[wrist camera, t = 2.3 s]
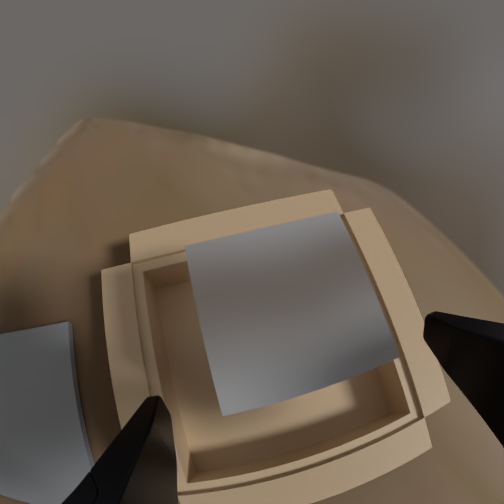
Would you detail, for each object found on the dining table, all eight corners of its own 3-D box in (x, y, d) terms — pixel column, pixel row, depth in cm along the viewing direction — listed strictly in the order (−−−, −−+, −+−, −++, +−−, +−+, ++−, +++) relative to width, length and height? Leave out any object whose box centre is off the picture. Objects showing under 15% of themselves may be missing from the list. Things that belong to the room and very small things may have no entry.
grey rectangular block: (322, 383, 16) (399, 356, 7) (239, 407, 15) (222, 415, 7) (297, 307, 18) (337, 211, 10) (219, 327, 18) (184, 246, 9)
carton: (427, 429, 14) (458, 430, 11) (169, 509, 12) (152, 528, 9) (344, 214, 22) (356, 184, 19) (120, 266, 20) (101, 241, 17)
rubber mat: (110, 514, 12) (107, 516, 11) (-13, 488, 10) (-18, 488, 9) (72, 323, 18) (67, 321, 17) (-34, 342, 16) (-38, 340, 16)
